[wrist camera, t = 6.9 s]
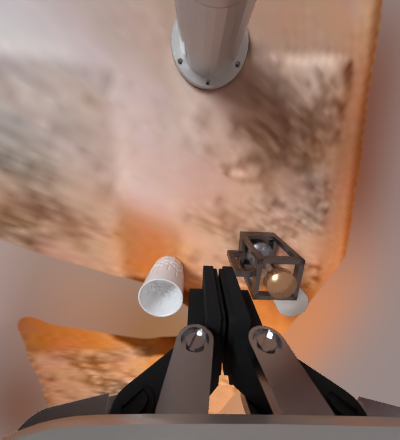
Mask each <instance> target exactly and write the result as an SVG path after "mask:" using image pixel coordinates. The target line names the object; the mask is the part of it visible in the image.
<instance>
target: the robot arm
mask: <svg viewBox="0 0 400 440" xmlns="http://www.w3.org/2000/svg"><path fill="white" fill-rule="evenodd" d="M174 1H175V9H176V16H177V17H176V19H175V21H174V24H173V28H172V33H171V48H172V54H173V58H174V61H175V64H176V66H177V68H178V70H179V72H180V73H181V75H182V76H183V77H184V78H185V79H186V80H187V81H188V82H189V83H190V84H192V85H194V86H196V87H198V88H201V89H208V90H211V89H217V88H220V87H223V86H225V85H226V84H228V83H230V82H231V81H232V80H233V79H234V78H235V77H236V75H237V74H238V73H239V72H240V70H241V68H242V66H243V64H244V61H245V59H246V55H247V51H248V43H249V37H248V29H247V25H248V22H249V19H250V17H251V14H252V11H253V8H254V5H255V2H256V0H174ZM179 63H182V64H179ZM236 66H238V68H237V67H236ZM207 83H209V85H207ZM222 364H223V372H224V375H228V378H229V385H234V386H235V387H236V388H237V389H238V390H239V391H240V392H241V400H242V404H243V407H244V410H245V413H246V414H245V415H243V414H208V409H209V396H210V395H211V394H212V392H213V391H214V390H215V389H216V387H217V386H218V383H219V375H221V367H222ZM0 440H400V407H397V406H393V405H390V404H386V403H381V402H378V401H374V400H370V399H366V398H362V397H359V398H358V400H356V399H355V398H354V397H353V396H351V395H350V394H349V393H348V392H346V391H345V390H343V389H342V388H341V387H339V386H337V385H336V384H334V383H333V382H332V381H330V380H329V379H327V378H326V377H324V376H322V375H321V374H319V373H318V372H316V371H315V370H313V369H312V368H311V367H309V366H308V365H306V364H305V363H303V362H301V361H300V360H299V359H297V357H296V356H295V354H294V353H293V351H292V350H291V348H290V347H289V345H288V344H287V342H286V341H285V339H284V338H283V337H282V336H281V334H280V333H278V332H277V331H276V330H274V329H272V328H270V327H267V326H262V323H261V321H260V318H259V316H258V313H257V311H256V309H255V306H254V304H253V301H252V299H251V296H250V294H249V292H248V290H240V287H239V284H238V281H237V278H236V275H235V272H234V269H233V267H228V266H223V267H222V269H219V275H218V274H217V269H213V266H203V284H202V289H190V292H189V308H188V324H187V326H186V327H184V328H183V329H182V330H181V331H180V332H179V334H178V336H177V339H176V342H175V346H174V348H173V349H172V350H170V351H169V352H168V353H167V354H165V355H164V356H163V357H162V358H160V359H159V360H158V361H157V362H155V363H154V364H153V365H152V366H150V367H149V368H148V369H147V370H145V371H144V372H143V373H142V374H140V375H139V376H138V377H137V378H135V379H134V380H133V381H132V382H130V383H129V384H128V385H127V386H125V387H124V388H123V389H122V390H121V391H120V392H119V393H118V395H114V396H110V397H109V393H107V394H103V395H99V396H95V397H91V398H87V399H82V400H78V401H74V402H70V403H66V404H62V405H58V406H53V407H49V408H46V409H44V410H41V411H39V412H37V413H36V414H34V415H33V416H32V417H30V418H29V419H28V420H27V421H26V422H25V423H24V424H23V425H22V426H21V427H20V428H19V429H18V431H17V432H14V433H12V434H10V435H8V436H5V437H3V438H1V439H0Z"/></svg>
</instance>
